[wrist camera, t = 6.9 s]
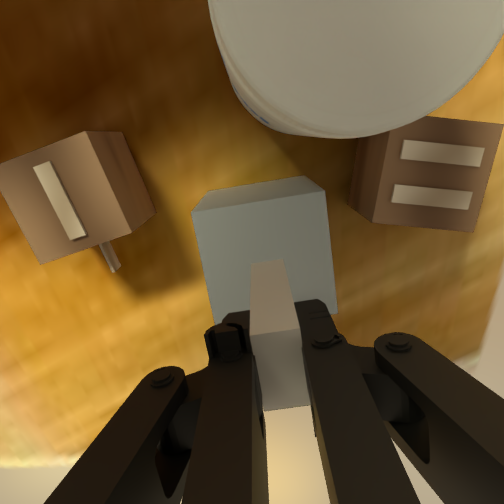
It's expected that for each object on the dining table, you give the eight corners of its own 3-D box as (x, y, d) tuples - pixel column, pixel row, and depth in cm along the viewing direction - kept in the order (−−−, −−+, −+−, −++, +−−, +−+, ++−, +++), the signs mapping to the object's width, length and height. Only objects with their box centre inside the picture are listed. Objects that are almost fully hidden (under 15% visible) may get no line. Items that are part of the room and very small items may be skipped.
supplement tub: (197, 42, 24) (123, -86, 10) (320, -64, 23) (433, -393, 9) (284, 165, 27) (320, 199, 12) (401, 77, 25) (595, 2, 11)
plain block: (225, 280, 29) (216, 331, 22) (208, 190, 27) (190, 212, 20) (315, 266, 29) (338, 313, 21) (304, 174, 27) (325, 190, 19)
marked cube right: (346, 207, 28) (372, 226, 22) (362, 117, 26) (395, 112, 20) (426, 214, 28) (474, 236, 22) (448, 126, 26) (506, 124, 20)
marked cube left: (97, 265, 29) (57, 299, 23) (45, 161, 27) (-15, 168, 21) (169, 241, 28) (147, 269, 22) (122, 131, 26) (83, 130, 20)
